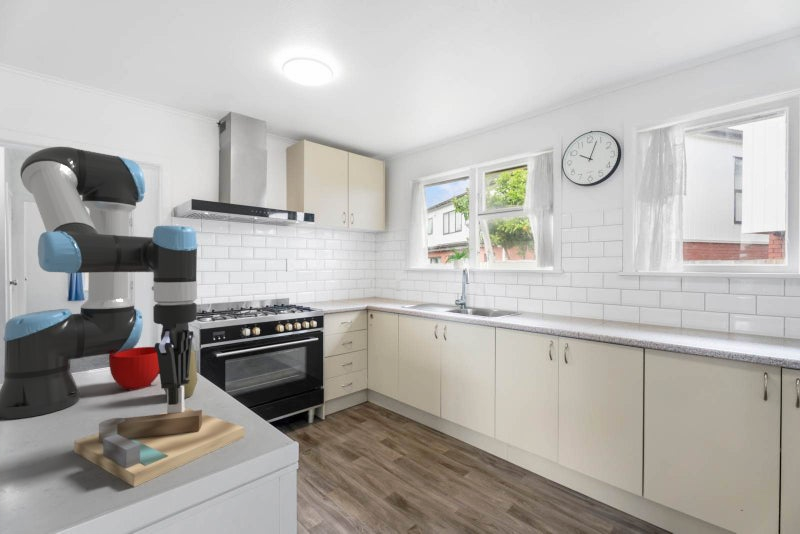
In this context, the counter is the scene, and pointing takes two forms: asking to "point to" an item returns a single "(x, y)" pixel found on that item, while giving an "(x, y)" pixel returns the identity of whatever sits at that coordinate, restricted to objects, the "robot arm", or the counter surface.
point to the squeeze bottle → (190, 377)
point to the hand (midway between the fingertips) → (175, 418)
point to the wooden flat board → (156, 449)
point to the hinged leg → (151, 425)
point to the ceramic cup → (134, 367)
